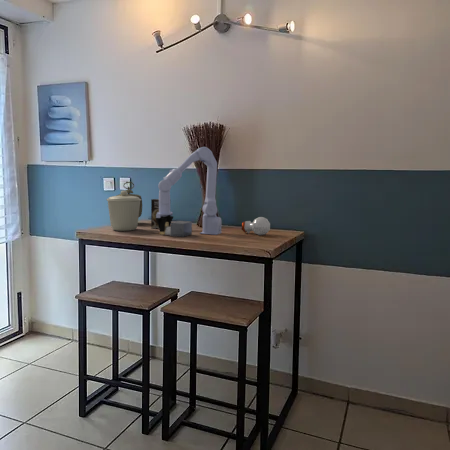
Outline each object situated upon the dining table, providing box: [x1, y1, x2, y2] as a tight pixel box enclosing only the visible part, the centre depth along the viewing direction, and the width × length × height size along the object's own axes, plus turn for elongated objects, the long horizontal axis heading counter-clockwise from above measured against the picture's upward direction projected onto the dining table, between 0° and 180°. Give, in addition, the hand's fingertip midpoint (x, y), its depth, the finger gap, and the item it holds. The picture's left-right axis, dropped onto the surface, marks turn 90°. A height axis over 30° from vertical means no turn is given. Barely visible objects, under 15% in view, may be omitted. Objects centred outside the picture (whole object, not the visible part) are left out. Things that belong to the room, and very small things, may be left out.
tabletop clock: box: [115, 181, 143, 218], centre depth 253 cm, size 14×9×25 cm, turn 130°
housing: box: [170, 220, 193, 238], centre depth 211 cm, size 7×10×6 cm
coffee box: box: [150, 198, 172, 229], centre depth 236 cm, size 9×6×16 cm
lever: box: [159, 222, 171, 236], centre depth 213 cm, size 11×5×6 cm, turn 72°
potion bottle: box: [241, 216, 271, 236], centre depth 219 cm, size 9×10×15 cm
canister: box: [106, 190, 141, 232], centre depth 226 cm, size 18×18×21 cm
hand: (164, 230), depth 215 cm, fingers closed on lever, 5 cm apart
